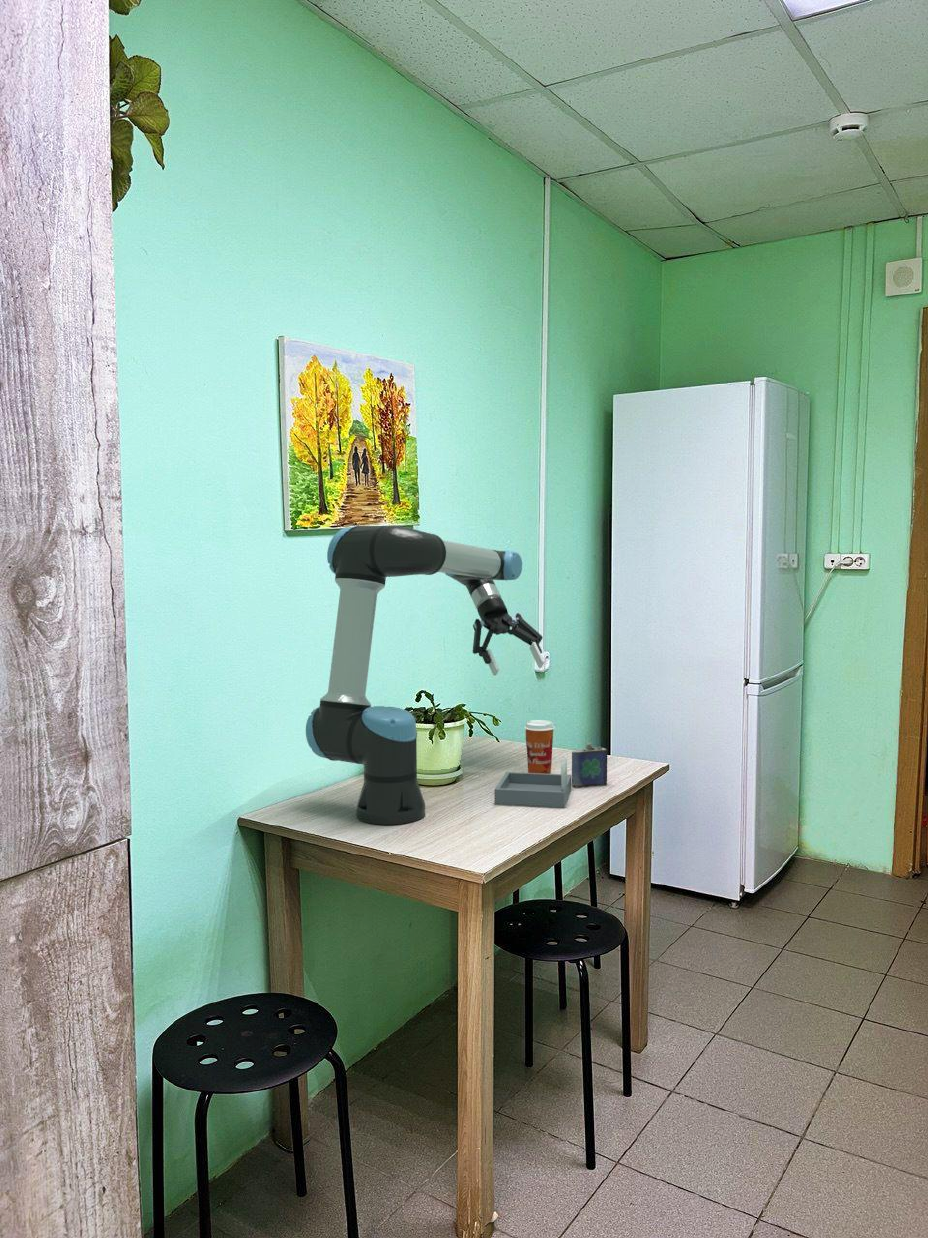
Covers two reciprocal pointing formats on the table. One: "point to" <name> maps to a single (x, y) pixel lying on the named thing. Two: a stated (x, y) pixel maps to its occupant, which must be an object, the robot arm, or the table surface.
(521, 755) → the table surface
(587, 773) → the flask
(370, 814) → the robot arm
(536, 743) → the paper cup
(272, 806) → the table surface
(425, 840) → the table surface
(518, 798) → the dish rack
